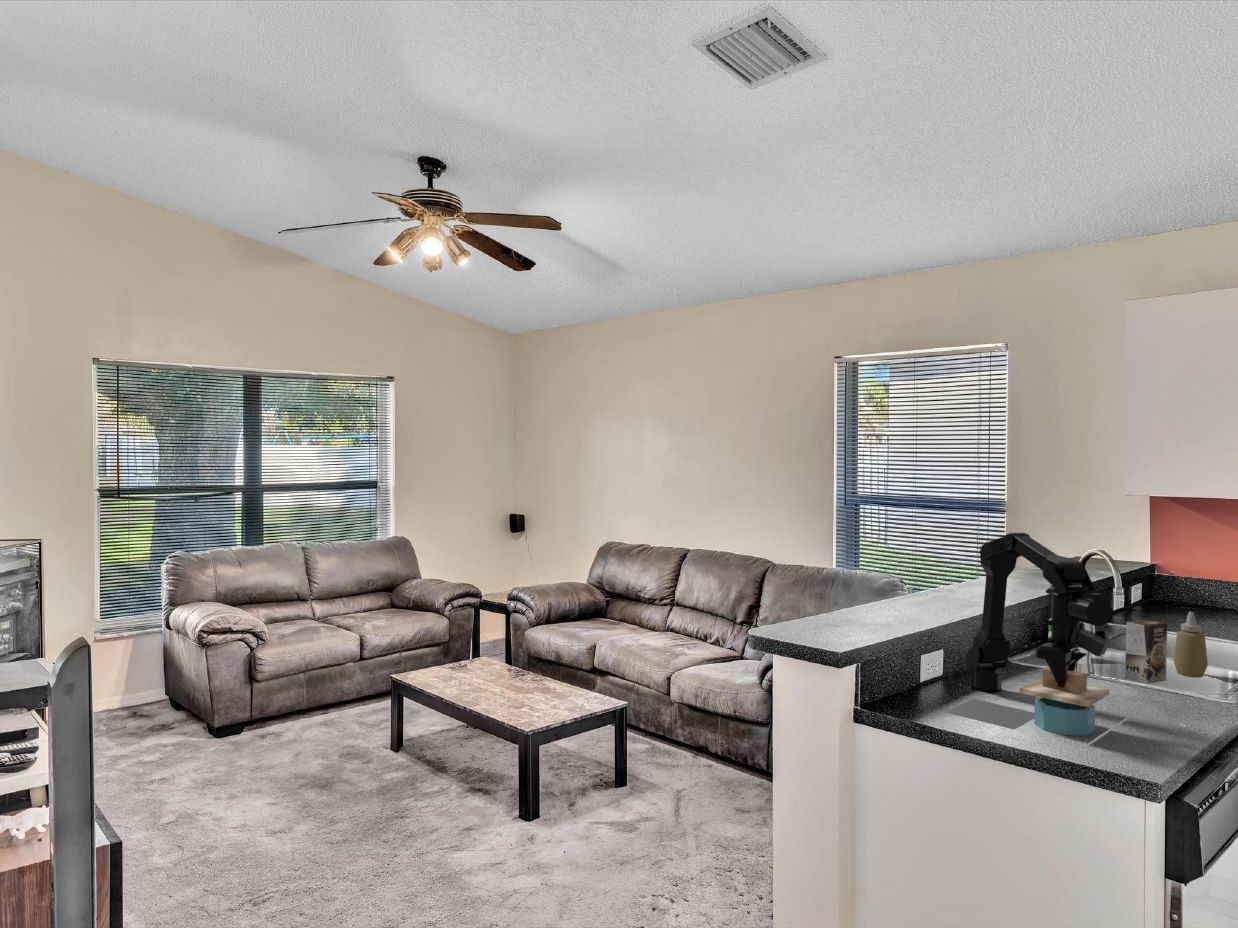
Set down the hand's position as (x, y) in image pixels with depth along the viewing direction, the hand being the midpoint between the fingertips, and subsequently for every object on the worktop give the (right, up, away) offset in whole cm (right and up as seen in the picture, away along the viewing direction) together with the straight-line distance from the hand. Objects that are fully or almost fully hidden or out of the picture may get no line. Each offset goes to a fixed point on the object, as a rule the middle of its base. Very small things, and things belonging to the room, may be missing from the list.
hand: (1064, 685), depth 183 cm
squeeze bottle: (+61, -10, +47) cm, 78 cm away
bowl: (0, -10, 0) cm, 10 cm away
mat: (-12, -10, +10) cm, 18 cm away
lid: (0, -2, 0) cm, 2 cm away
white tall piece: (+32, -10, +50) cm, 60 cm away
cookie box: (+46, -10, +42) cm, 63 cm away
